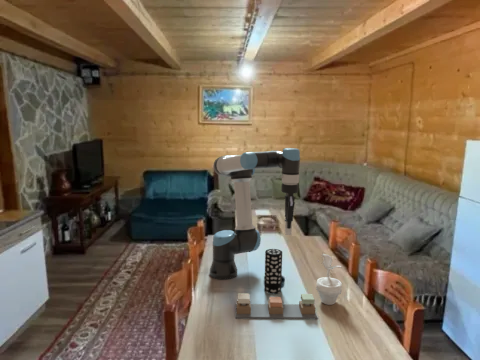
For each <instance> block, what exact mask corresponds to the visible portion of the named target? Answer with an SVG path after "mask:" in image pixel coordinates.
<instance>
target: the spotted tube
mask: <svg viewBox="0 0 480 360" xmlns="http://www.w3.org/2000/svg"><path fill="white" fill-rule="evenodd" d="M264 255H265V256H264V287H263V288H264V289H263V290H264V292H265V293H267V294H271V295H278V294H280V293H281V292H282V271H283V251H282V250H280V249H277V248H269V249H266V250H265V253H264Z"/></svg>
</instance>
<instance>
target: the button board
mask: <svg viewBox="0 0 480 360" xmlns="http://www.w3.org/2000/svg"><path fill="white" fill-rule="evenodd" d="M298 303H299V304H298ZM298 303H297V304H295V303H291V304H289V303H288V304H287V303H286V304H285V303H282V307H270V302H269V300H268V301H267V303H251V302H250V303H246V306H242V303H238V300H236V304H235V319H238V320H239V319H243V320H244V319H245V320H246V319H247V320H250V319H251V320H318V319H319V318H318V315H317V313H316V306H315V303H314V304H310V306H305V304H303V303H302V300H299V302H298Z"/></svg>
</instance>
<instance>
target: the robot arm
mask: <svg viewBox="0 0 480 360" xmlns="http://www.w3.org/2000/svg"><path fill="white" fill-rule="evenodd" d="M300 152H301V150H300V149H299V148H296V147H295V148H293V147H285V148H283V149H282V151H279V150H270V151H268V150H267V151H247V152H243V153H242V154H234V155H221V156H218V157H217V158H216V159H215V161H214V162H213V170H214V172H215V173H216V174H217V175H218V176H220V177H226V178H228V177H229V178H230V181H232V182H233V186H234V200H235V201H234V202H235V212H236V213H235V214H236V227H235V228H234V231H233V230H231V229H223V230H220V231H217V232H215V233H214V234H213V238H212V262H211V265H210V268H209V276H210V277H212V278H213V279H216V280H231V279H233V278H236V277H237V276H238V267H237V265H236V262H235V255H238V254H239V255H240V254H244V253H252V252H255V251H257V250H258V249H259V248H260V246H261V242H262V241H261V238H262V237H261V234H260V232H259V230H258V229H256V226H255V225H254V224H253V212H252V199H251V187H250V185H251V183H250V182H251V180H252V179H253V175H255V173H256V170H257V169H271V168H273V169H274V168H275V169H281V175H280V178H281V182H282V183H281V189H280V191H281V193H283V194H285V195H284V217H285V219H284V222H285V229H284V234H285V236H292V233H293V232H292V230H293V229H292V227H293V221H294V211H295V203H296V202H295V199H296V198H295V196H294V194H298V193H299V186H300V185H299V183H300V162H301V156H300V154H301V153H300Z"/></svg>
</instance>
